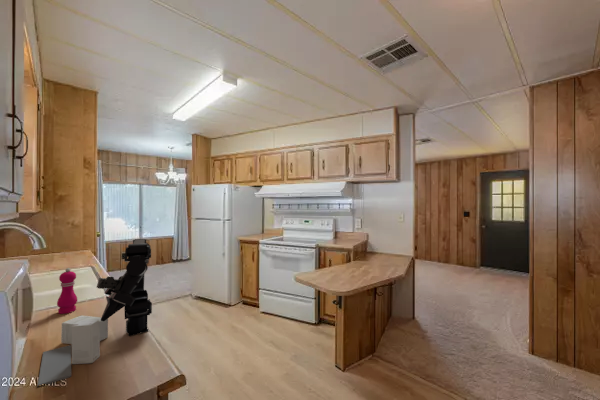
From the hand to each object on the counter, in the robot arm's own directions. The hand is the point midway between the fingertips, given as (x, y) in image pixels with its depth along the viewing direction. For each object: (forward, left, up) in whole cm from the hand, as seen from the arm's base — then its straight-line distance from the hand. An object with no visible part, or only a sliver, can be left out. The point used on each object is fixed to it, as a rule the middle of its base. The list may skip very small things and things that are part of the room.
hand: (102, 320), depth 91 cm
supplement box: (+8, -20, -7) cm, 22 cm away
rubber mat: (+11, -1, -11) cm, 16 cm away
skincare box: (+4, +2, -11) cm, 12 cm away
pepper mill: (+9, -54, -11) cm, 56 cm away
